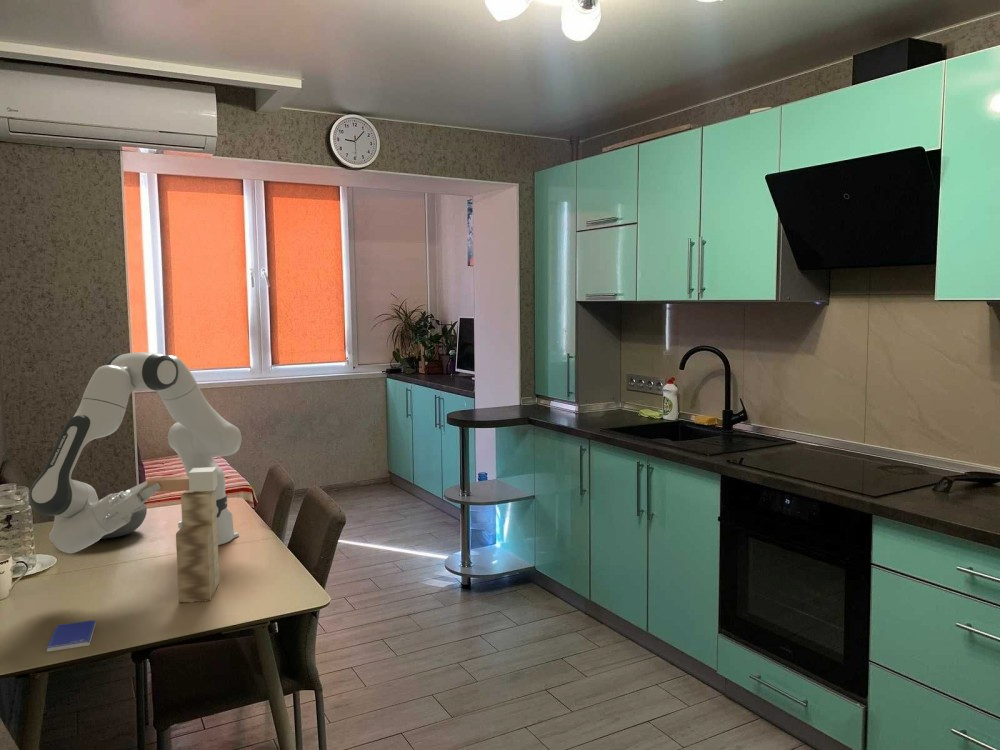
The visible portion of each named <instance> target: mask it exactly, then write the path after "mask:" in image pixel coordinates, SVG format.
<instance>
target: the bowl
mask: <svg viewBox="0 0 1000 750" xmlns="http://www.w3.org/2000/svg"><path fill="white" fill-rule="evenodd" d="M147 512H148V510H147V505H146V504H145V503H143V504H142V505H141V506H140V507H139V508H138V509H137V510H135V511H134V512H133V515H132V516H131V520H130V522H129V523H127V524H125V525H124V526H122V527H120V528H119V529H117V530H115V531H114V532H112V533H109V534H106V535H104V536H103V537H101V539H110V538H112V539H113V538H118V537H122V536H127V535H128V534H129V535H130V534H131V533H133V532H134V531H136V530H137V529H138V528H139V527H141V525H142V524H143V522H144V521H145V519H146V517H147Z"/></svg>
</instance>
